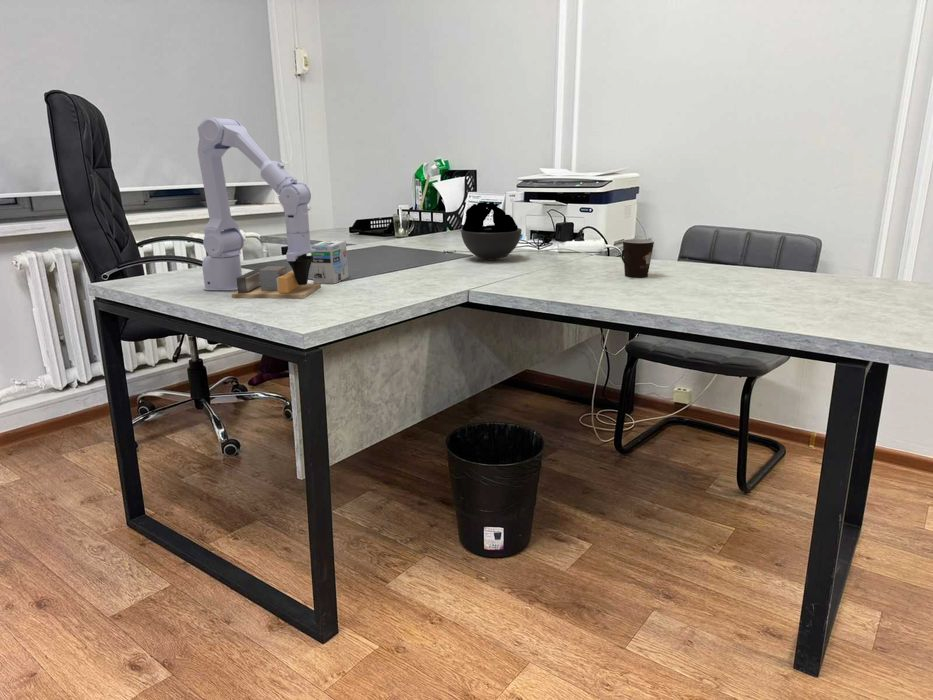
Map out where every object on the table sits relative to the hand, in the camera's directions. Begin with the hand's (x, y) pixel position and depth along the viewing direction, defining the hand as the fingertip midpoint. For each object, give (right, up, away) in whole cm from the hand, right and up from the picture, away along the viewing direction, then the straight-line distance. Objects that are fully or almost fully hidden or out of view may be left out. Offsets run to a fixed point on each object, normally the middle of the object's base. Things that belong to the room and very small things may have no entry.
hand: (302, 284), depth 172 cm
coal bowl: (+51, +13, +48) cm, 71 cm away
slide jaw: (-3, -1, +1) cm, 3 cm away
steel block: (-7, -1, +1) cm, 8 cm away
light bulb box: (+4, +3, +17) cm, 17 cm away
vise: (-7, -2, +1) cm, 8 cm away
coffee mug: (+90, +4, +16) cm, 92 cm away
